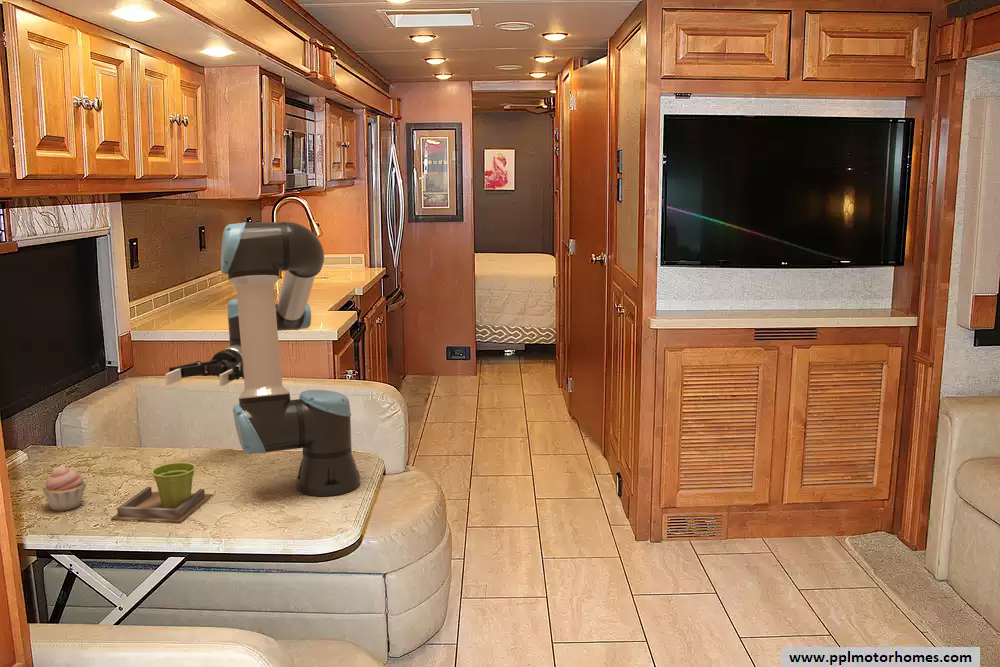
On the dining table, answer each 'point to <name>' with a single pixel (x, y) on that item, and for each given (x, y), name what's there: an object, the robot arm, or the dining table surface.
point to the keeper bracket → (158, 507)
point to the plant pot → (174, 483)
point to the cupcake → (64, 489)
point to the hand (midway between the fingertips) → (193, 380)
